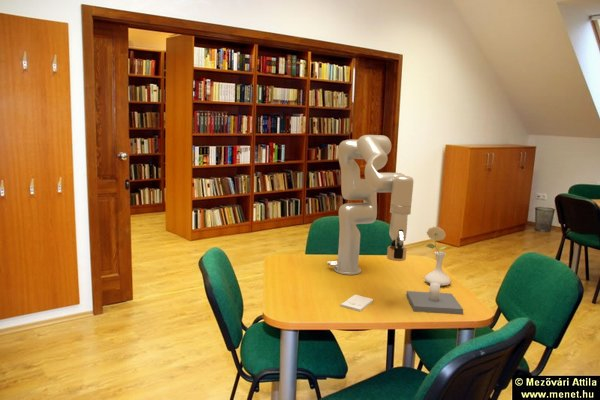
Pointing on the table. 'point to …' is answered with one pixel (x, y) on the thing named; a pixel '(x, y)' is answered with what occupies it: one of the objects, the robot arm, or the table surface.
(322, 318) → the table surface
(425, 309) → the piston stand
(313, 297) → the table surface
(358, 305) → the external hard drive
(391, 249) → the bronze ring
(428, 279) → the flower in vase
